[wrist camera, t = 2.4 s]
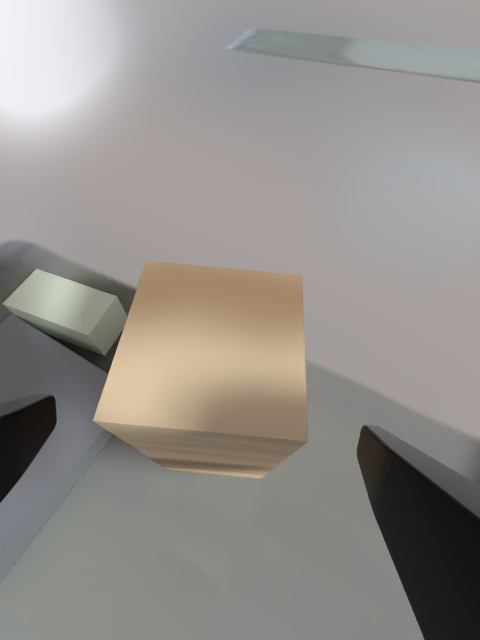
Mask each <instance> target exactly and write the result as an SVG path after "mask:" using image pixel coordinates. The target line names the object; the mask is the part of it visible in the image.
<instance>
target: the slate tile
mask: <svg viewBox="0 0 480 640" xmlns="http://www.w3.org/2000/svg"><path fill="white" fill-rule="evenodd" d="M107 377H108V373H106V372H104V371H103V370H101V369H100V368H98V367H97V366H95V365H93V364H92V363H90V362H89V361H87V360H85V359H84V358H82V357H81V356H79V355H77V354H76V353H74V352H73V351H71V350H69V349H68V348H66V347H65V346H63V345H62V344H60V343H58V342H57V341H55V340H54V339H52V338H50V337H49V336H47V335H46V334H44V333H42V332H41V331H39V330H38V329H36V328H34V327H33V326H31V325H30V324H28V323H27V322H25V321H23V320H22V319H20V318H19V317H17V316H15V315H14V314H11V315H10V316H8V317H7V318H6V319H5V320H4V321H2V322H1V323H0V404H2V403H6V402H10V401H13V400H17V399H20V398H24V397H28V396H31V395H35V394H50V395H53V396H54V397H55V400H56V414H57V423H56V426H55V429H54V430H53V432H52V433H51V435H50V436H49V438H48V439H47V441H46V442H45V444H44V445H43V447H42V448H41V450H40V451H39V453H38V454H37V455H36V457H35V458H34V460H33V461H32V463H31V464H30V466H29V467H28V469H27V470H26V472H25V473H24V474H23V476H22V477H21V478H20V480H19V481H18V482H17V484H16V485H15V486H14V487H13V488H12V490H11V491H10V492H9V493H8V495H7V496H6V497H5V498H4V500H3V501H2V502H1V503H0V582H1V580H2V579H3V578H4V576H5V575H6V574H7V572H8V571H9V570H10V569H11V567H12V566H13V565H14V563H15V562H16V561H17V559H18V558H19V557H20V556H21V554H22V553H23V552H24V550H25V549H26V548H27V546H28V545H29V544H30V543H31V541H32V540H33V539H34V537H35V536H36V535H37V533H38V532H39V531H40V529H41V528H42V527H43V526H44V524H45V523H46V522H47V520H48V519H49V518H50V516H51V515H52V514H53V513H54V511H55V510H56V509H57V507H58V506H59V505H60V503H61V502H62V501H63V499H64V498H65V497H66V496H67V494H68V493H69V492H70V490H71V489H72V488H73V486H74V485H75V484H76V483H77V481H78V480H79V479H80V477H81V476H82V475H83V473H84V472H85V471H86V470H87V468H88V467H89V466H90V464H91V463H92V462H93V460H94V459H95V458H96V456H97V455H98V454H99V453H100V451H101V450H102V449H103V447H104V446H105V445H106V443H107V442H108V441H109V440H110V438H111V437H112V436H113V434H112V433H111V432H109V431H107V430H106V429H104V428H103V427H101V426H100V425H98V424H97V423H95V422H94V421H93V419H94V416H95V413H96V410H97V407H98V404H99V401H100V398H101V395H102V392H103V389H104V386H105V383H106V380H107Z"/></svg>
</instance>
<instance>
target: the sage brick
mask: <svg viewBox="0 0 480 640" xmlns="http://www.w3.org/2000/svg"><path fill="white" fill-rule="evenodd" d="M3 305H4V306H5V307H7V308H8V309H9V310H10V311H11V312H12V313H13V314H14V315H15V316H17V317H19V318H20V319H22V320H23V321H25V322H27V323H28V324H30V325H31V326H33V327H34V328H36V329H38V330H39V331H41V332H42V333H45V334H47V335H50V336H53V337H55V338H58V339H61V340H63V341H66V342H69V343H71V344H74V345H76V346H79V347H82V348H84V349H87V350H90V351H92V352H95V353H98V354H100V355H103V356H105V355H106V354H107V352H108V351H109V349H110V348H111V346H112V345H113V343H114V342H115V340H116V339H117V337H118V336H119V334H120V333H121V331H122V330H123V328H124V326H125V323H126V320H127V315H126V313H125V311H124V309H123V307H122V305H121V303H120V301H119V299H118V297H117V296H114V295H112V294H109V293H106V292H103V291H100V290H97V289H94V288H91V287H88V286H85V285H82V284H79V283H77V282H74V281H71V280H68V279H65V278H62V277H59V276H56V275H53V274H50V273H47V272H44V271H42V270H39V269H36V270H35V271H34V272H33V273H32V274H31V275H30V276H29V277H28V278H27V279H26V280H25V281H24V282H23V283H22V284H21V285H20V286H19V287H18V288H17V289H16V290H15V291H14V292H13V293H12V294H11V295H10V296H9V297H8V298H7V300H6V301H5V302H4V303H3Z"/></svg>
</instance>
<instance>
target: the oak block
mask: <svg viewBox="0 0 480 640" xmlns="http://www.w3.org/2000/svg"><path fill="white" fill-rule="evenodd" d="M93 421H94V422H95V423H97V424H98V425H100V426H101V427H103V428H104V429H106V430H107V431H109V432H111V433H112V434H114V435H115V436H117V437H118V438H120V439H121V440H123V441H124V442H126V443H127V444H129V445H131V446H132V447H134V448H135V449H137V450H138V451H140V452H141V453H143V454H144V455H146V456H147V457H149V458H151V459H152V460H154V461H155V462H157V463H158V464H160V465H161V466H163V467H164V468H166V469H167V470H172V471H182V472H192V473H203V474H213V475H224V476H234V477H244V478H255V479H261V478H262V477H263V476H265V475H266V474H267V473H269V472H270V471H271V470H272V469H274V468H275V467H276V466H277V465H279V464H280V463H281V462H283V461H284V460H285V459H286V458H288V457H289V456H290V455H291V454H293V453H294V452H295V451H297V450H298V449H299V448H300V447H302V446H303V445H304V444H305V443H307V442H308V424H307V397H306V369H305V343H304V315H303V289H302V275H293V274H282V273H271V272H260V271H248V270H237V269H227V268H216V267H205V266H193V265H182V264H172V263H161V262H150V261H146V263H145V267H144V269H143V272H142V275H141V278H140V281H139V284H138V287H137V290H136V293H135V296H134V299H133V302H132V305H131V308H130V311H129V314H128V317H127V320H126V323H125V326H124V329H123V332H122V335H121V338H120V341H119V344H118V347H117V350H116V353H115V356H114V359H113V362H112V365H111V368H110V371H109V374H108V377H107V380H106V383H105V386H104V389H103V392H102V395H101V398H100V401H99V404H98V407H97V410H96V413H95V416H94V419H93Z"/></svg>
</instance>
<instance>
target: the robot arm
mask: <svg viewBox="0 0 480 640" xmlns="http://www.w3.org/2000/svg"><path fill="white" fill-rule="evenodd" d="M56 423H57V414H56V400H55V397H54V396H53V395H50V394H35V395H31V396H28V397H24V398H20V399H17V400H13V401H10V402H6V403H2V404H0V503H1V502H2V501H3V500H4V498H5V497H6V496H7V495H8V493H9V492H10V491H11V490H12V488H13V487H14V486H15V485H16V484H17V482H18V481H19V480H20V478H21V477H22V476H23V474H24V473H25V472H26V470H27V469H28V467H29V466H30V464H31V463H32V461H33V460H34V458H35V457H36V455H37V454H38V453H39V451H40V450H41V448H42V447H43V445H44V444H45V442H46V441H47V439H48V438H49V436H50V435H51V433H52V432H53V430H54V429H55V426H56ZM357 458H358V462H359V465H360V469H361V472H362V476H363V479H364V483H365V486H366V490H367V493H368V497H369V500H370V503H371V506H372V510H373V512H374V515H375V518H376V520H377V523H378V525H379V528H380V530H381V533H382V535H383V538H384V540H385V543H386V545H387V548H388V550H389V553H390V555H391V558H392V560H393V562H394V565H395V567H396V570H397V572H398V575H399V577H400V580H401V582H402V585H403V587H404V590H405V592H406V595H407V597H408V600H409V602H410V605H411V607H412V610H413V612H414V615H415V617H416V620H417V622H418V624H419V627H420V629H421V632H422V634H423V637H424V639H425V640H480V485H478V484H476V483H475V482H473V481H471V480H469V479H468V478H466V477H464V476H463V475H461V474H459V473H457V472H456V471H454V470H452V469H451V468H449V467H447V466H445V465H444V464H442V463H440V462H439V461H437V460H435V459H434V458H432V457H430V456H428V455H427V454H425V453H423V452H422V451H420V450H418V449H416V448H415V447H413V446H411V445H410V444H408V443H406V442H405V441H403V440H401V439H399V438H398V437H396V436H394V435H393V434H391V433H389V432H387V431H386V430H384V429H382V428H381V427H379V426H373V425H364V426H363V427H362V429H361V433H360V438H359V442H358V447H357Z"/></svg>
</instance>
